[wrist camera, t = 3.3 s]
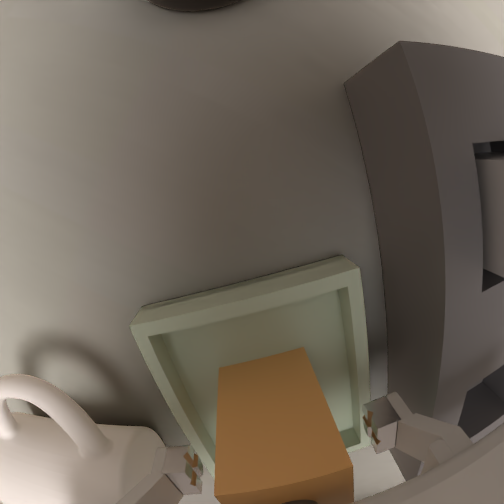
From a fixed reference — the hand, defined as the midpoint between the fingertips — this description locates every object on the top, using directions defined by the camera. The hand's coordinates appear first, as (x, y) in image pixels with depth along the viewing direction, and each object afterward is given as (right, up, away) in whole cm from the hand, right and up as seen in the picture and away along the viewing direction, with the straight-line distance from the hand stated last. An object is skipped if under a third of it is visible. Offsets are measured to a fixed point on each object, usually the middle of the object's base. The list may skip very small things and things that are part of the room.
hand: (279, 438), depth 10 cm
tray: (0, +1, +4) cm, 4 cm away
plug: (0, +1, +3) cm, 3 cm away
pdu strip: (+10, +6, +3) cm, 12 cm away
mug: (-12, -3, +4) cm, 13 cm away
